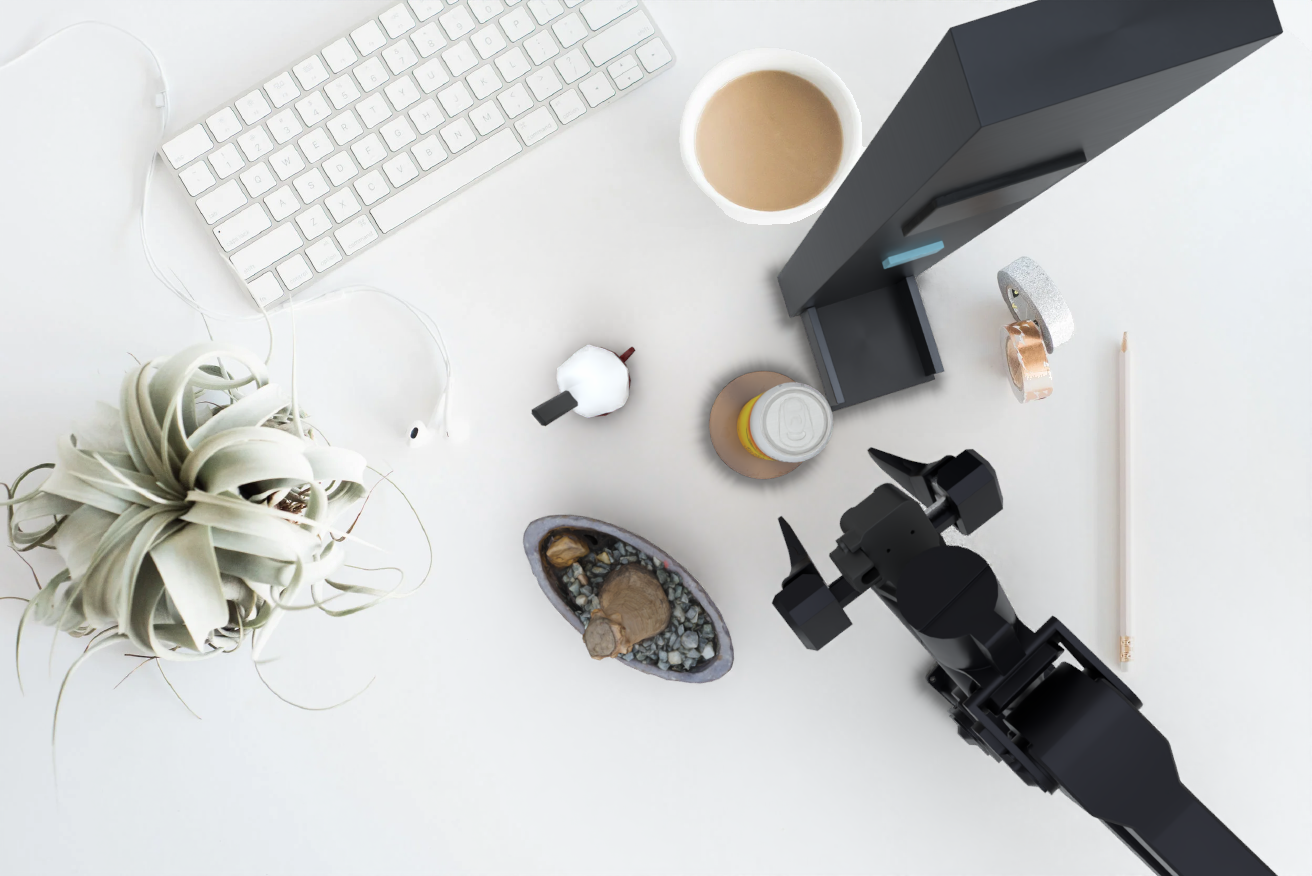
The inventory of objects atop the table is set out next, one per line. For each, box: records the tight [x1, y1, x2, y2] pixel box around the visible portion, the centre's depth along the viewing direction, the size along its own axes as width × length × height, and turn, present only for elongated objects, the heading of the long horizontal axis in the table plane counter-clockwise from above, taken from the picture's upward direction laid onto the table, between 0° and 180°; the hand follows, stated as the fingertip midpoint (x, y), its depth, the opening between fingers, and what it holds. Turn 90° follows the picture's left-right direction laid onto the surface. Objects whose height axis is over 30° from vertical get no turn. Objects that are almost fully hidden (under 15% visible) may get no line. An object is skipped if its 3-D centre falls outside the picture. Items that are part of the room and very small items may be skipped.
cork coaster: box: [708, 370, 804, 480], centre depth 77 cm, size 10×10×1 cm
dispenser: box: [776, 0, 1284, 413], centre depth 54 cm, size 14×12×46 cm
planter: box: [522, 514, 735, 684], centre depth 67 cm, size 15×17×20 cm
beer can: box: [737, 381, 834, 463], centre depth 69 cm, size 6×6×15 cm
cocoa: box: [531, 344, 637, 427], centre depth 71 cm, size 10×6×12 cm, turn 109°
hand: (825, 485), depth 68 cm, fingers open, 9 cm apart
